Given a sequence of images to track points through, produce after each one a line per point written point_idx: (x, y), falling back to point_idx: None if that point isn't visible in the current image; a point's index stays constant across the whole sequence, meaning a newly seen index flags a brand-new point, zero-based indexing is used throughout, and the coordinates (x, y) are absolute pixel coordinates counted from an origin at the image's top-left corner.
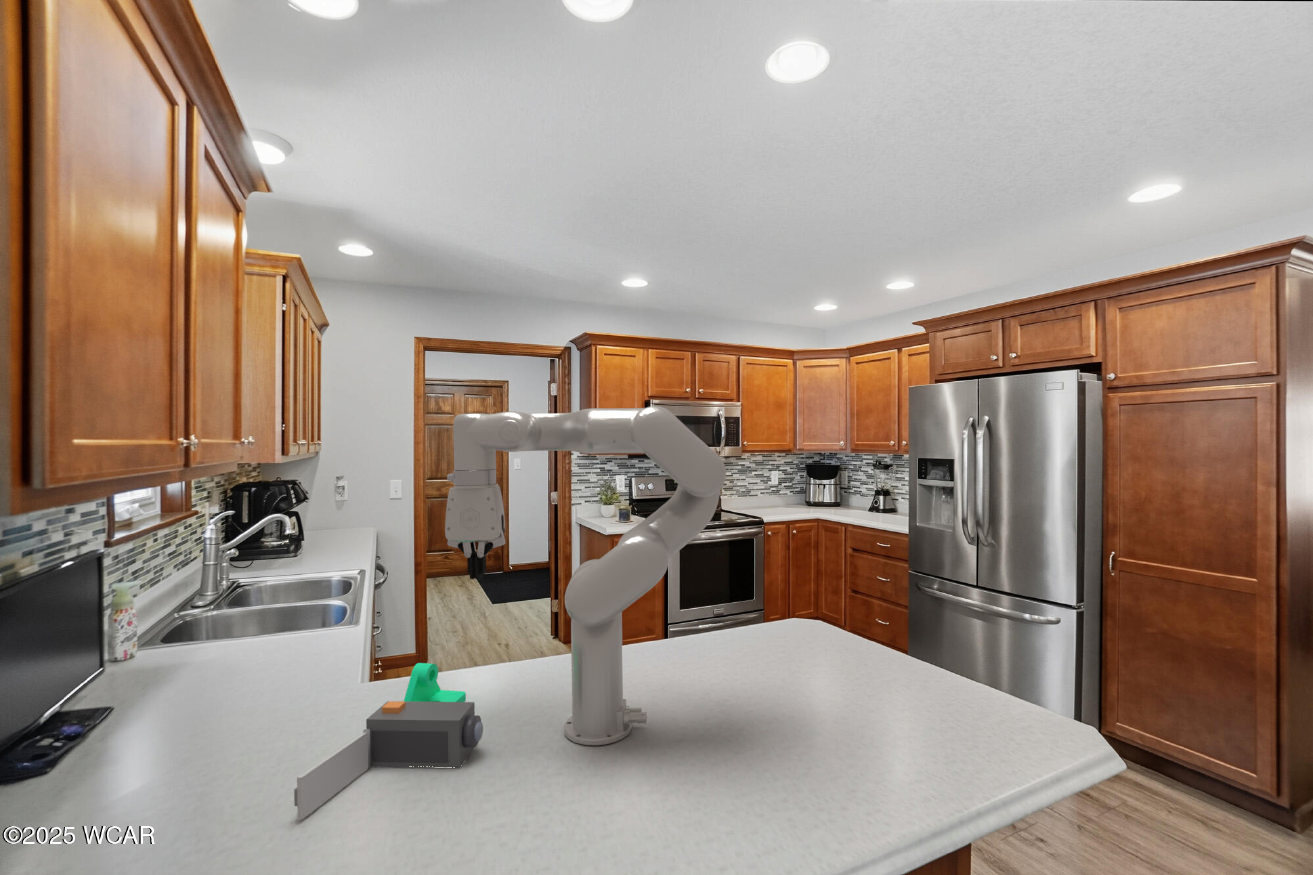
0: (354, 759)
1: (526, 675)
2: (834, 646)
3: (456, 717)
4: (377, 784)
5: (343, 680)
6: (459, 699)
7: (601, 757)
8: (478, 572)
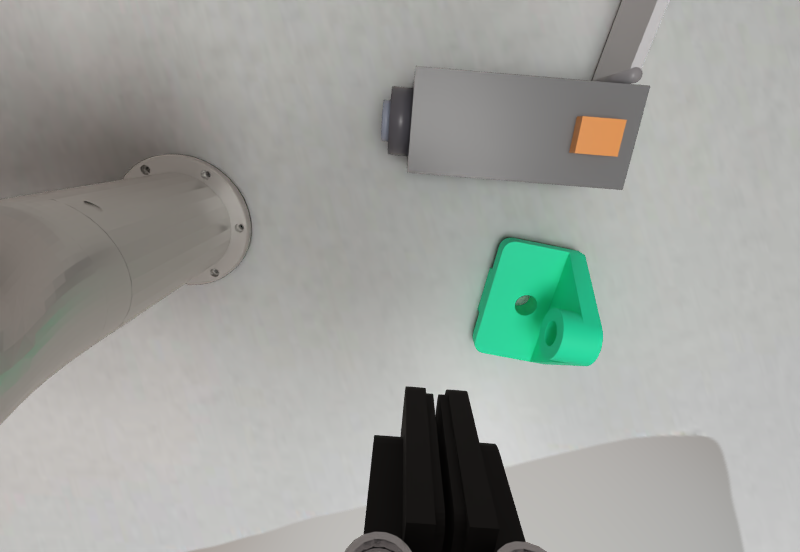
0: (627, 31)
1: None
2: None
3: (427, 84)
4: (557, 26)
5: (737, 443)
6: (480, 320)
7: (152, 112)
8: (404, 420)
